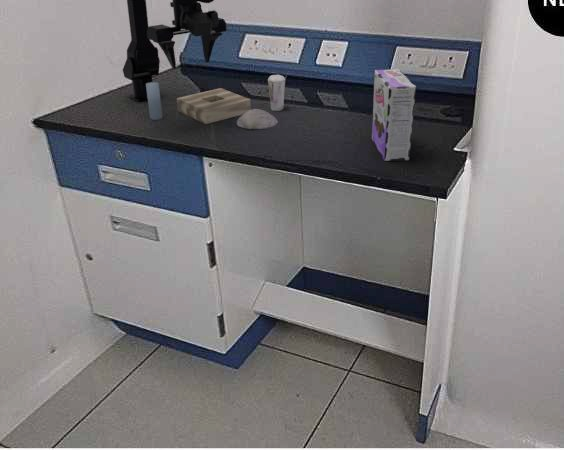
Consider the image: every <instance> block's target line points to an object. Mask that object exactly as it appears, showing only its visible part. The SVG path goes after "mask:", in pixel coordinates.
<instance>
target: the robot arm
mask: <svg viewBox="0 0 564 450" xmlns="http://www.w3.org/2000/svg"><path fill="white" fill-rule="evenodd" d="M214 1H215V0H172V1H171V2H170V4H169V6H170V8H173V19H172V20H171V23H172V24H171V25H173V26H168V25H165V24H157V25H149V18H148V9H147V0H126V3H127V4H126V5H127V13H128V21H129V29H130V30H129V31H130V38H131V39H130V43H129V45H128V47H127V49H126V59H125V60H126V61H125V62H124V65H123V68H122V73H123V76H124V78H125V79H128V80H130V81H131V84H132V90H133V92H132V93H133V94H130V95H129V96H128V97H129V98H130V99H133V100H135V101H136V102H144V101H148V97H147V89H146V84H147V83H150V82H154V81H153V77H154V76H159V75H160V62H161V61H160V57H159V49H158V48H157V46H155V45H154V44H153V43H155V44H158V45H159V47H160V48H161V50H162V52H163V53H164V55H165V57H166V59H167V61H168V62H169V64H170V65H169V66H171V69H173V70H175V69H176V68H177V66H176V64H177V63H176V61H177V60H176V56H175V44H176V41H175V40H173V39H174V36H177V35H184V34H190V33H191V35H192V36H194V37H200V38H201V45H202V53H203V57H204V61H205V63H209V62H210V60H211V55H212V53H213V52H212V51H213V48H214V45H215V43H216V40H217V39H218V38H219V37H220V36H223V33H224V32H227V30H228V29H227V28H228V25H227V22H226V20H225V19H224V18H220V17H219V14H218V11H217V10H215V9H214V10H208V11H205V12H203V9H202V4H201V3H204V4H211V3H212V2H214ZM152 41H153V42H152Z"/></svg>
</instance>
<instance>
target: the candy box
mask: <svg viewBox="0 0 564 450" xmlns="http://www.w3.org/2000/svg"><path fill="white" fill-rule="evenodd" d="M373 81H374V82H373V102H372V103H373V104H372V108H373V109H372V125H371V126H372V127H371V140H372V142H373V143H374V146H375V147H376V149H377V150H378V153H379V154H380V156H381V157H382V159H383V161H384V162H393V161H396V162H397V161H409V160H410V154H411V146H412V145H411V144H412V143H411V142H412V132H413V131H412V130H413V124H414V123H413V120H414V113H415V112H414V111H415V110H414V108H415V99H416V89H417V86H416V85H415V84H413V82H411V81H410V80H409V78H408V77H407V76H406V75H405V74H404V73H403V72H402V71H401V69H400V68H392V69H391V68H390V69H389V68H388V69H375V70H374V80H373Z"/></svg>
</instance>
